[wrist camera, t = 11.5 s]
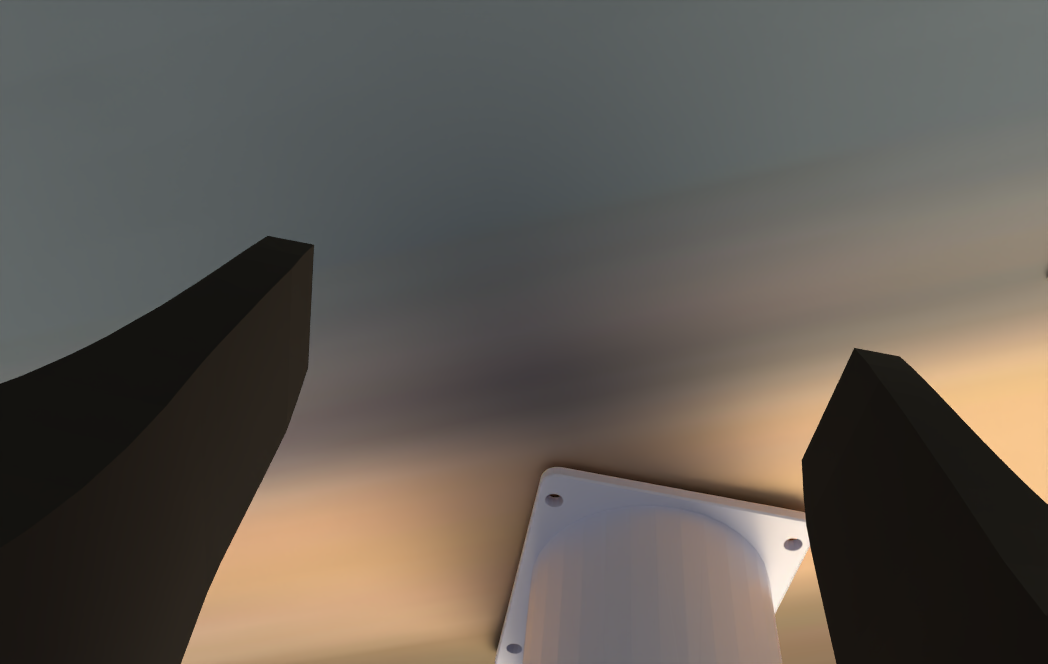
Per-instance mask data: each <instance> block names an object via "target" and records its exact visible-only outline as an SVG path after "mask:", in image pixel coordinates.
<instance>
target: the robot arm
mask: <svg viewBox="0 0 1048 664" xmlns="http://www.w3.org/2000/svg"><path fill="white" fill-rule="evenodd" d="M313 254H314V245H312V244H307V243H302V242H297V241H291V240H286V239H281V238H276V237H271V236H267V237H265V238H264V239H262V240H261V241H259V242H257V243H256V244H254V245H253V246H251V247H250V248H248V249H247V250H245V251H244V252H242V253H241V254H239V255H238V256H236V257H235V258H233V259H232V260H230V261H229V262H227V263H226V264H224V265H223V266H221V267H220V268H218V269H217V270H215V271H214V272H212V273H211V274H209V275H208V276H206V277H205V278H204V279H202V280H201V281H199V282H197V283H196V284H194V285H193V286H191V287H190V288H188V289H187V290H185V291H183V292H182V293H180V294H179V295H177V296H176V297H174V298H172V299H171V300H169V301H168V302H166V303H165V304H163V305H161V306H160V307H158V308H156V309H154V310H153V311H151V312H149V313H147V314H146V315H144V316H142V317H140V318H139V319H137V320H135V321H133V322H131V323H130V324H128V325H126V326H124V327H123V328H121V329H119V330H117V331H116V332H114V333H112V334H110V335H109V336H107V337H105V338H103V339H101V340H99V341H97V342H95V343H93V344H91V345H89V346H87V347H85V348H83V349H81V350H79V351H77V352H75V353H73V354H71V355H68V356H66V357H64V358H62V359H59V360H57V361H55V362H53V363H50V364H48V365H46V366H44V367H41V368H39V369H37V370H35V371H32V372H30V373H27V374H25V375H22V376H20V377H18V378H15V379H12V380H9V381H7V382H4V383H1V384H0V664H181V662H182V659H183V656H184V654H185V651H186V648H187V645H188V643H189V640H190V637H191V635H192V632H193V629H194V627H195V624H196V621H197V619H198V616H199V613H200V611H201V608H202V605H203V603H204V600H205V597H206V595H207V592H208V590H209V588H210V585H211V583H212V581H213V579H214V576H215V574H216V572H217V570H218V567H219V565H220V563H221V561H222V559H223V557H224V555H225V553H226V551H227V549H228V547H229V545H230V543H231V541H232V539H233V537H234V535H235V533H236V531H237V529H238V527H239V525H240V523H241V521H242V519H243V517H244V515H245V513H246V511H247V509H248V507H249V505H250V503H251V501H252V499H253V497H254V495H255V493H256V491H257V489H258V487H259V485H260V484H261V482H262V480H263V478H264V476H265V474H266V471H267V469H268V467H269V465H270V463H271V461H272V459H273V457H274V455H275V453H276V451H277V449H278V447H279V445H280V443H281V441H282V439H283V437H284V435H285V433H286V431H287V428H288V425H289V422H290V420H291V417H292V414H293V411H294V408H295V405H296V403H297V400H298V396H299V393H300V390H301V387H302V384H303V381H304V378H305V375H306V372H307V369H308V357H309V336H310V316H311V295H312V274H313ZM802 473H803V492H804V505H805V512H801V511H796V510H790V509H785V508H780V507H774V506H769V505H763V504H758V503H753V502H747V501H742V500H736V499H731V498H726V497H720V496H715V495H709V494H704V493H699V492H693V491H688V490H682V489H677V488H672V487H666V486H661V485H655V484H650V483H645V482H639V481H634V480H628V479H623V478H618V477H612V476H607V475H601V474H596V473H591V472H585V471H580V470H575V469H569V468H564V467H552V468H548V469H547V470H545V471H544V472H543V474H542V475H541V478H540V482H539V486H538V490H537V494H536V498H535V502H534V506H533V510H532V514H531V518H530V522H529V526H528V530H527V534H526V538H525V542H524V545H523V549H522V553H521V557H520V561H519V565H518V569H517V573H516V577H515V581H514V585H513V589H512V593H511V597H510V601H509V605H508V609H507V613H506V617H505V621H504V625H503V629H502V633H501V637H500V641H499V645H498V649H497V652H496V658H495V664H782V658H781V651H780V645H779V639H778V632H777V626H776V619H775V613H776V611H777V609H778V607H779V605H780V603H781V601H782V599H783V597H784V596H785V594H786V592H787V590H788V588H789V586H790V584H791V582H792V580H793V578H794V576H795V574H796V572H797V570H798V568H799V566H800V564H801V562H802V560H803V559H804V557H805V555H806V553H807V551H808V549H809V547H811V552H812V556H813V561H814V566H815V570H816V575H817V579H818V584H819V588H820V593H821V597H822V602H823V606H824V610H825V615H826V619H827V624H828V628H829V633H830V637H831V642H832V646H833V650H834V655H835V659H836V664H1048V504H1047V503H1045V502H1044V501H1043V500H1042V499H1041V498H1040V497H1039V496H1038V495H1037V494H1036V493H1035V492H1034V491H1032V490H1031V489H1030V488H1029V487H1028V486H1027V485H1026V484H1025V483H1024V482H1023V481H1022V480H1021V479H1020V478H1019V477H1018V476H1017V475H1016V474H1015V473H1014V472H1013V471H1012V470H1011V469H1010V468H1009V467H1008V466H1007V465H1006V464H1005V463H1004V462H1003V461H1002V460H1001V459H1000V458H999V457H998V456H997V455H996V454H995V453H994V452H993V451H992V450H991V449H990V448H989V447H988V446H987V445H986V444H985V443H984V442H983V441H982V440H981V439H980V438H979V436H978V435H977V434H976V433H975V432H974V431H973V430H972V429H971V428H970V427H969V426H968V425H967V424H966V423H965V422H964V421H963V420H962V419H961V418H960V417H959V416H958V414H957V413H956V412H955V411H954V410H953V409H952V408H951V407H950V406H949V405H948V404H947V403H946V402H945V401H944V400H943V399H942V398H941V397H940V396H939V394H938V393H937V392H936V391H935V390H934V389H933V388H932V387H931V386H930V385H929V384H928V383H927V382H926V381H925V380H924V379H923V378H922V377H921V376H920V375H919V374H918V373H917V372H916V371H915V370H914V369H913V368H912V367H911V366H910V365H908V364H907V363H906V362H905V361H904V360H903V359H902V358H901V357H899V356H894V355H889V354H883V353H878V352H873V351H868V350H862V349H857V348H854V350H853V352H852V354H851V356H850V359H849V361H848V363H847V365H846V367H845V369H844V371H843V373H842V376H841V378H840V380H839V382H838V384H837V386H836V388H835V390H834V393H833V395H832V397H831V399H830V401H829V403H828V405H827V408H826V410H825V412H824V414H823V416H822V418H821V420H820V422H819V425H818V427H817V429H816V431H815V433H814V435H813V437H812V440H811V442H810V444H809V446H808V448H807V450H806V452H805V454H804V457H803V459H802ZM550 494H557V495H560V496H559V497H552V496H549V495H550ZM791 538H797V539H795V540H788V539H791Z"/></svg>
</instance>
